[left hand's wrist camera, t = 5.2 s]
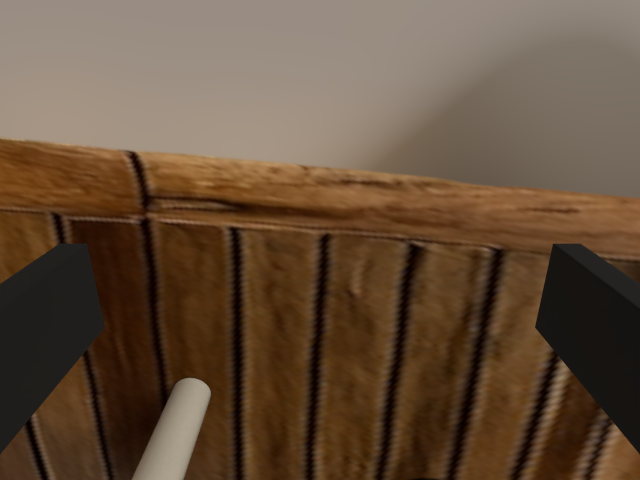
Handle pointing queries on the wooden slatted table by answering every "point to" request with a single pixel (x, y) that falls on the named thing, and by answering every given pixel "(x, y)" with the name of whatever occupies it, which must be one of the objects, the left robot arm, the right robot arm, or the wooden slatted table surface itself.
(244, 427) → the wooden slatted table surface
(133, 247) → the wooden slatted table surface
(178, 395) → the beige cylinder
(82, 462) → the wooden slatted table surface
